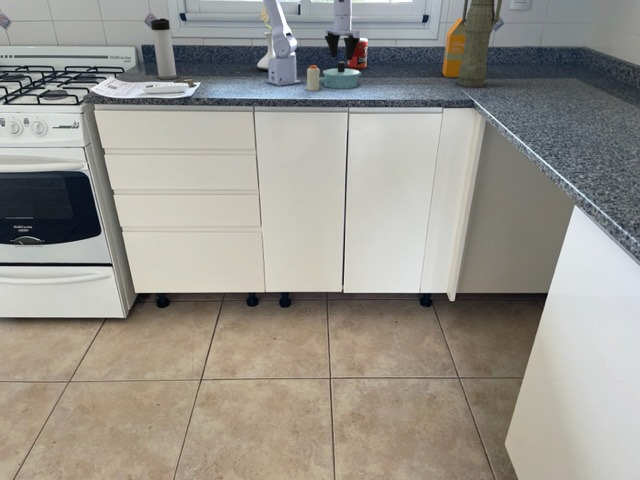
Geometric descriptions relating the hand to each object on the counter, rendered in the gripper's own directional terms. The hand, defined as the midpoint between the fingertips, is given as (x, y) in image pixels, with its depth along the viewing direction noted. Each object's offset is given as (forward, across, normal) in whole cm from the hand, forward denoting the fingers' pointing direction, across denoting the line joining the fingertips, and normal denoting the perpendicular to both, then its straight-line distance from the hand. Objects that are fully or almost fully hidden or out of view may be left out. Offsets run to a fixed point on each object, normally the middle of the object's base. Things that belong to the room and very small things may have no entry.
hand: (341, 58), depth 167 cm
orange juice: (+9, -15, -46) cm, 49 cm away
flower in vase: (+9, +39, +1) cm, 40 cm away
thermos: (+9, -30, -34) cm, 47 cm away
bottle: (+9, +1, +12) cm, 15 cm away
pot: (+9, 0, 0) cm, 9 cm away
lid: (+5, 0, 0) cm, 5 cm away
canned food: (+9, +21, -29) cm, 37 cm away
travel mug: (+9, +52, +40) cm, 66 cm away
